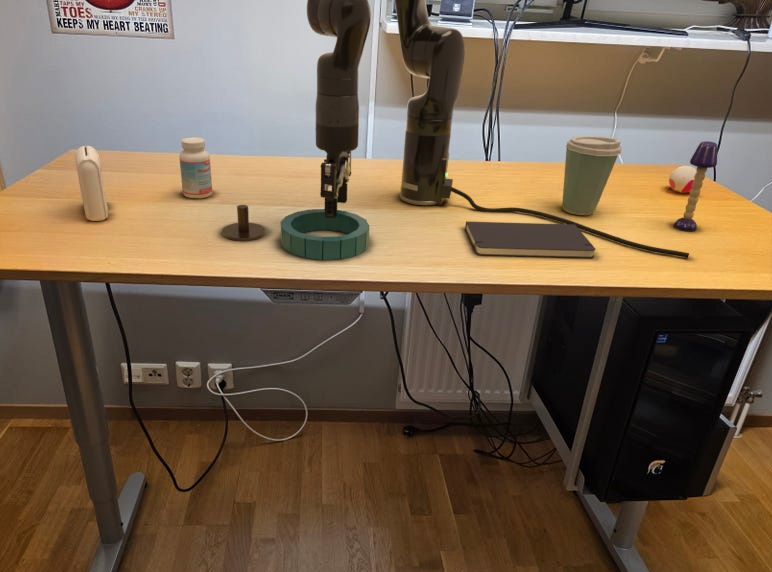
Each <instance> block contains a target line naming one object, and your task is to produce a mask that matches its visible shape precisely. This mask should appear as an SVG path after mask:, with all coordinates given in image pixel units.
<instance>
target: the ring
mask: <svg viewBox="0 0 772 572" xmlns="http://www.w3.org/2000/svg"><path fill="white" fill-rule="evenodd" d="M279 225H280V243H281V247H282V248H283V249H284V250H285V251H286V252H288V253H290V254H291V255H294V256H298V257H301V258H304V259H311V260H318V261H322V260H323V261H332V260H333V261H334V260H343V259H348V258H351V257H355V256H358V255H360V254H361V253H363V252H365V251H366V250H367V248H368V246H369V245H370V244H369V243H370V242H369V240H370V224H369V222H368V221H367V219H366V218H364V217H363V216H360V215H359V214H356V213H353V212H349V211H346V210H341V209H337V217H336V218H335V219H332V218H326V217H325V208H311V209H304V210H299V211H295V212H293V213H291V214H288V215H286V216H284V218H283V219H282V220H281V221H280V223H279ZM311 231H312V232H313V231H334V232H340V233H343V234H342V235H338V236H318V235H310V234H306V233H308V232H311Z"/></svg>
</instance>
